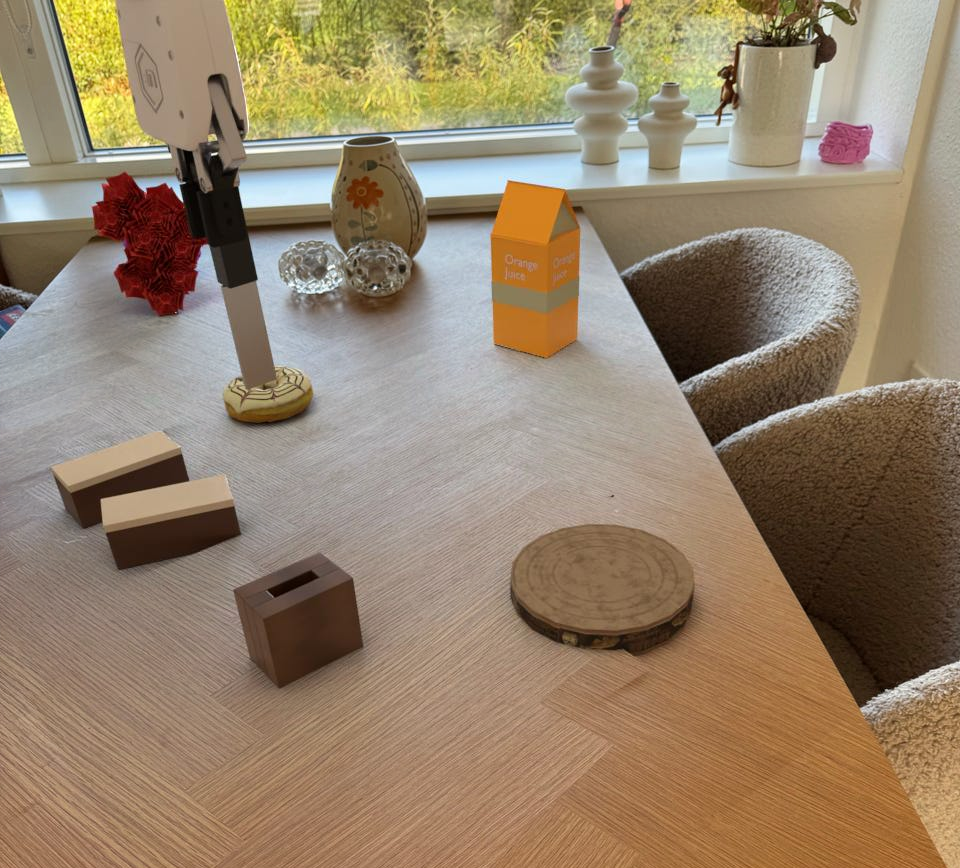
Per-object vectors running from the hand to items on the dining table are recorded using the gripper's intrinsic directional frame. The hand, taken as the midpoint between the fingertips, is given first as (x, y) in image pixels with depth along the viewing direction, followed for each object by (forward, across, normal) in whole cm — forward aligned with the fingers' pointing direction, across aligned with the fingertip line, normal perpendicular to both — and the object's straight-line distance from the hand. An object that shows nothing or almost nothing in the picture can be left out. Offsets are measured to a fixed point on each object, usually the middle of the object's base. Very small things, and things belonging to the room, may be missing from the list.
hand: (219, 237), depth 75 cm
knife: (+13, 0, +1) cm, 13 cm away
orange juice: (+29, -21, +51) cm, 62 cm away
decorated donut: (+29, -28, +14) cm, 43 cm away
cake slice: (+29, -7, -8) cm, 31 cm away
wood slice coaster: (+29, +27, +17) cm, 43 cm away
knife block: (+29, +17, -7) cm, 34 cm away
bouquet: (+29, -80, +23) cm, 89 cm away
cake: (+29, -19, -8) cm, 36 cm away
